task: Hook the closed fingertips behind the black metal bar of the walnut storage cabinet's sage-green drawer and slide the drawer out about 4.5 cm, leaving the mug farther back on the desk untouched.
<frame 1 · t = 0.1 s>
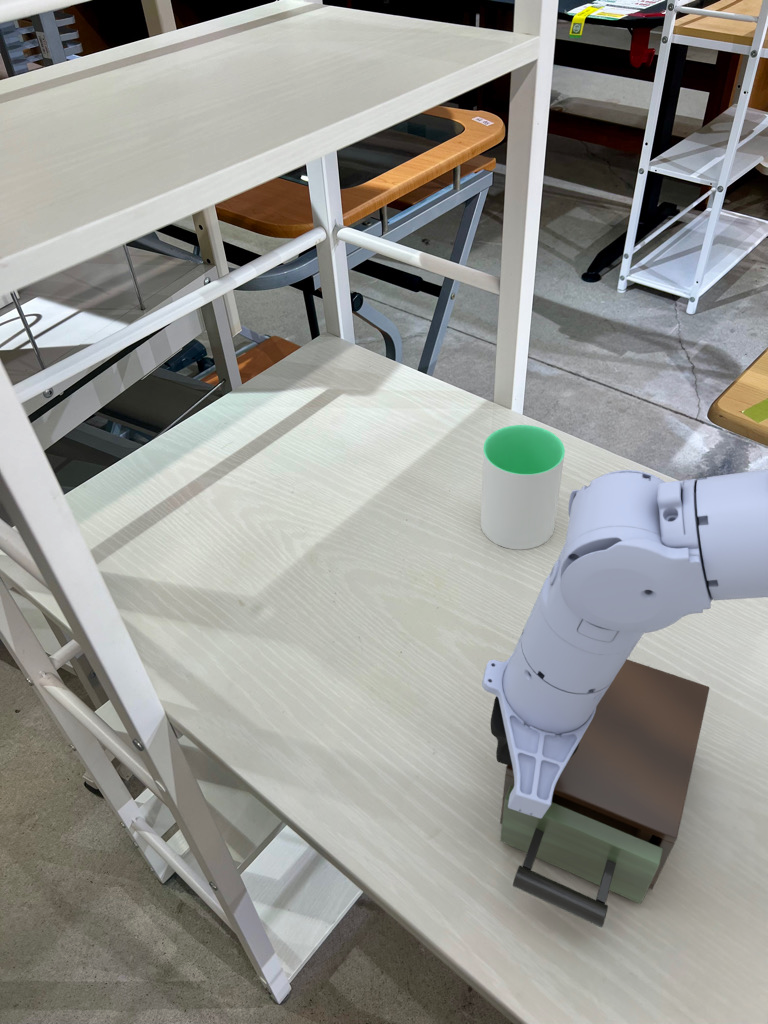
hand: (511, 757, 53), 9 cm above the table, tool pointing down, fingers closed, pressing on cabinet
drawer: (587, 806, 54), point 4 cm above the table, slide at 0.5 cm
cabinet: (595, 783, 60), on the table
mug: (517, 512, 84), on the table
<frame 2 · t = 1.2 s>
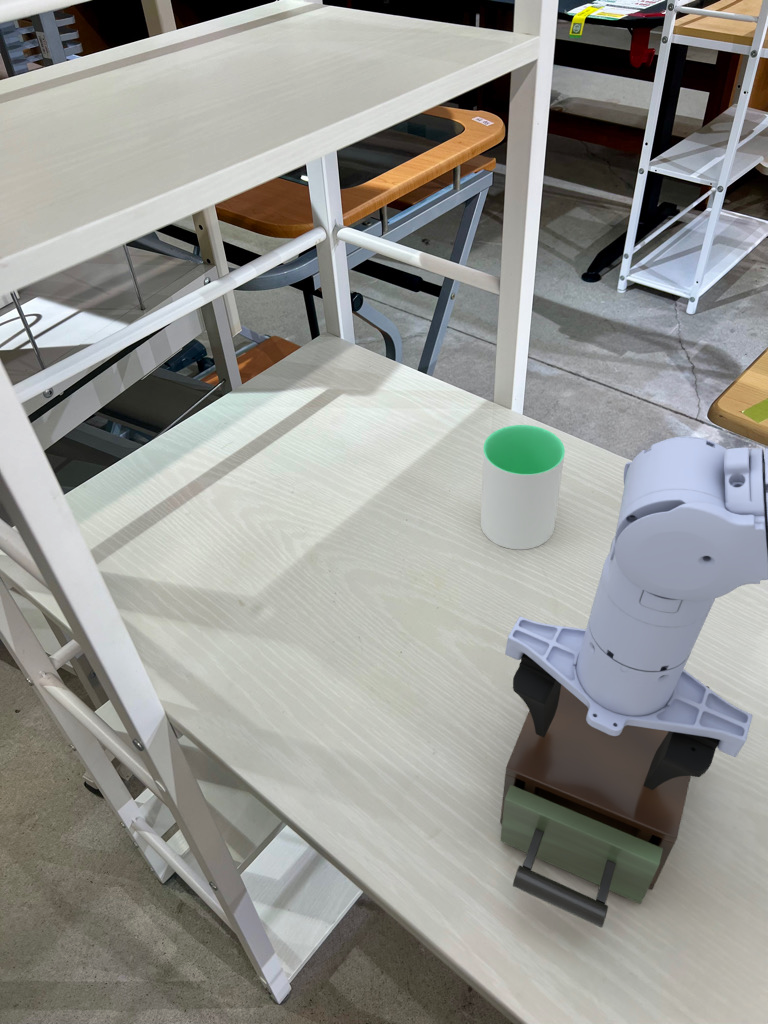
hand: (597, 749, 51), 10 cm above the table, tool pointing down, fingers open, 7 cm apart
nothing on the table moved.
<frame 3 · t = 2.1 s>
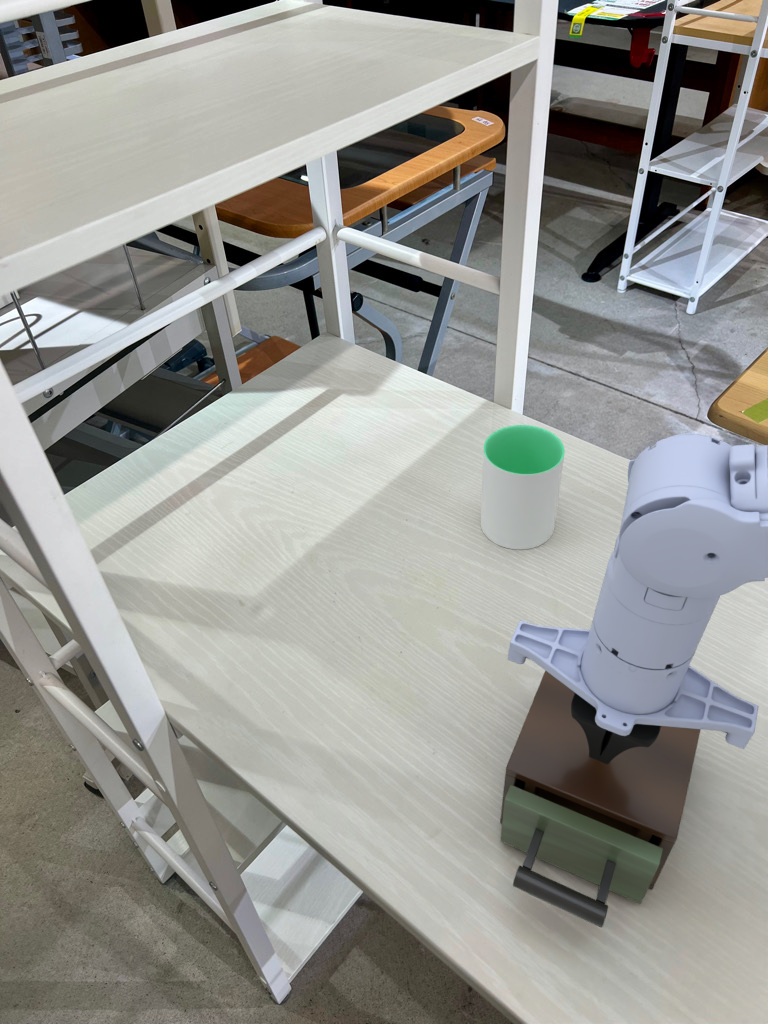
hand: (602, 748, 51), 10 cm above the table, tool pointing down, fingers closed
nothing on the table moved.
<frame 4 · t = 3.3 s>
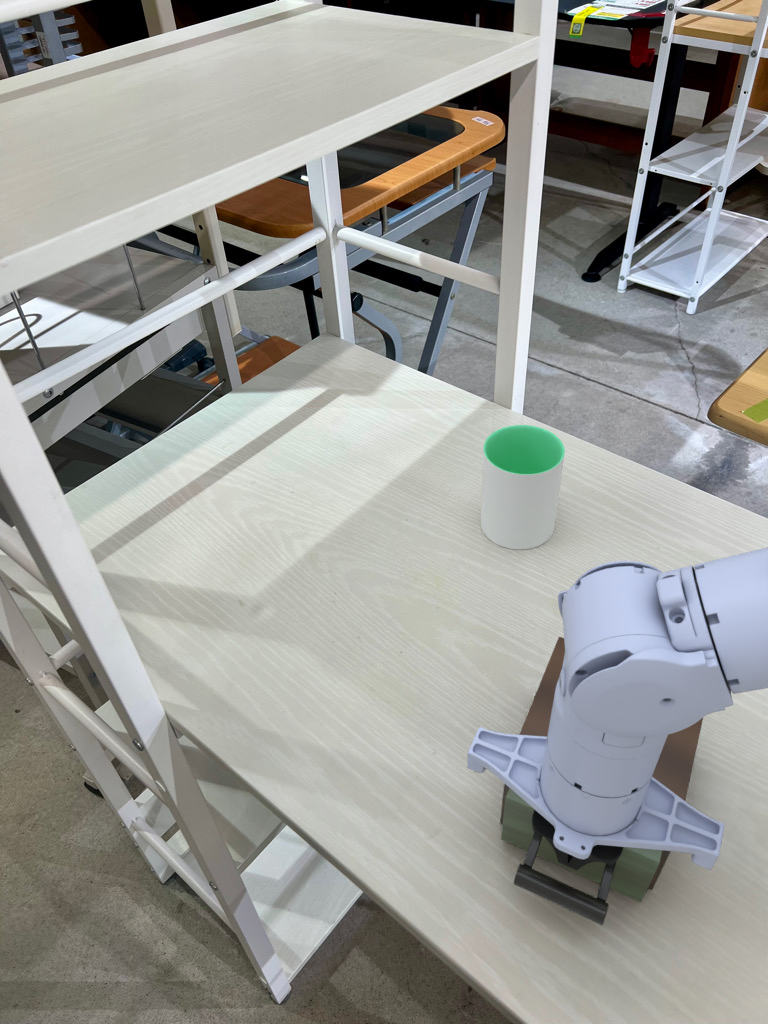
hand: (571, 852, 50), 7 cm above the table, tool pointing down, fingers closed, pressing on drawer
drawer: (588, 804, 54), point 4 cm above the table, slide at 0.4 cm, touching gripper
everything else where it was.
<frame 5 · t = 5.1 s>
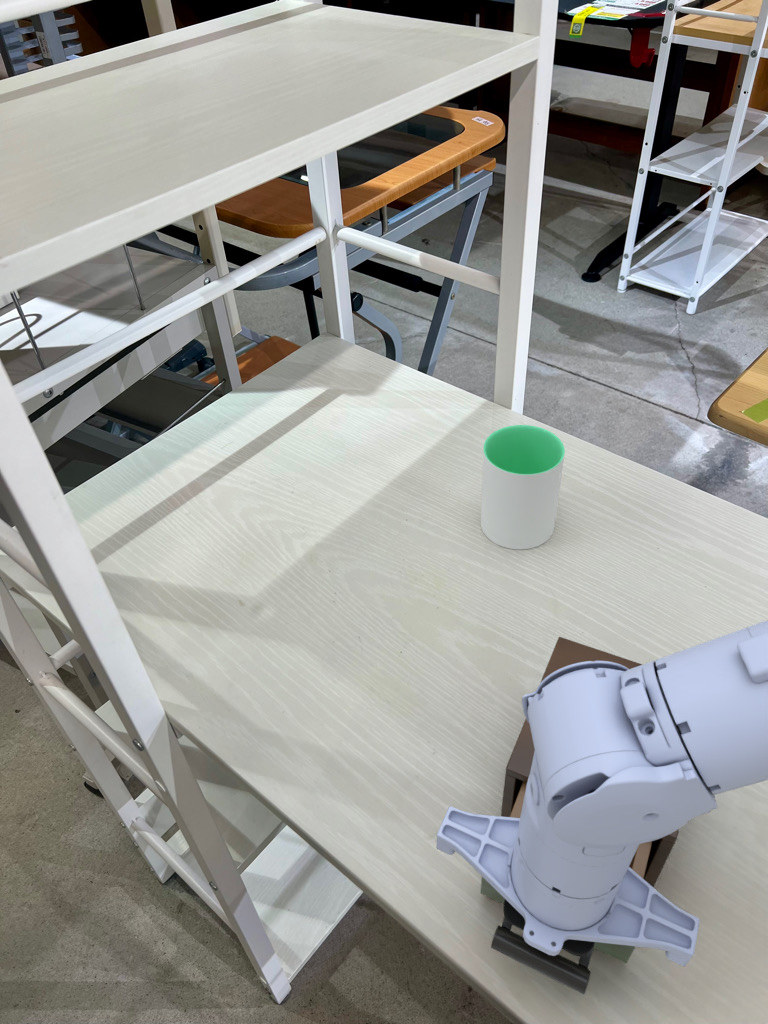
hand: (544, 931, 48), 5 cm above the table, tool pointing down, fingers closed, pressing on drawer
drawer: (571, 858, 52), point 4 cm above the table, slide at 4.6 cm, touching gripper
everything else where it was.
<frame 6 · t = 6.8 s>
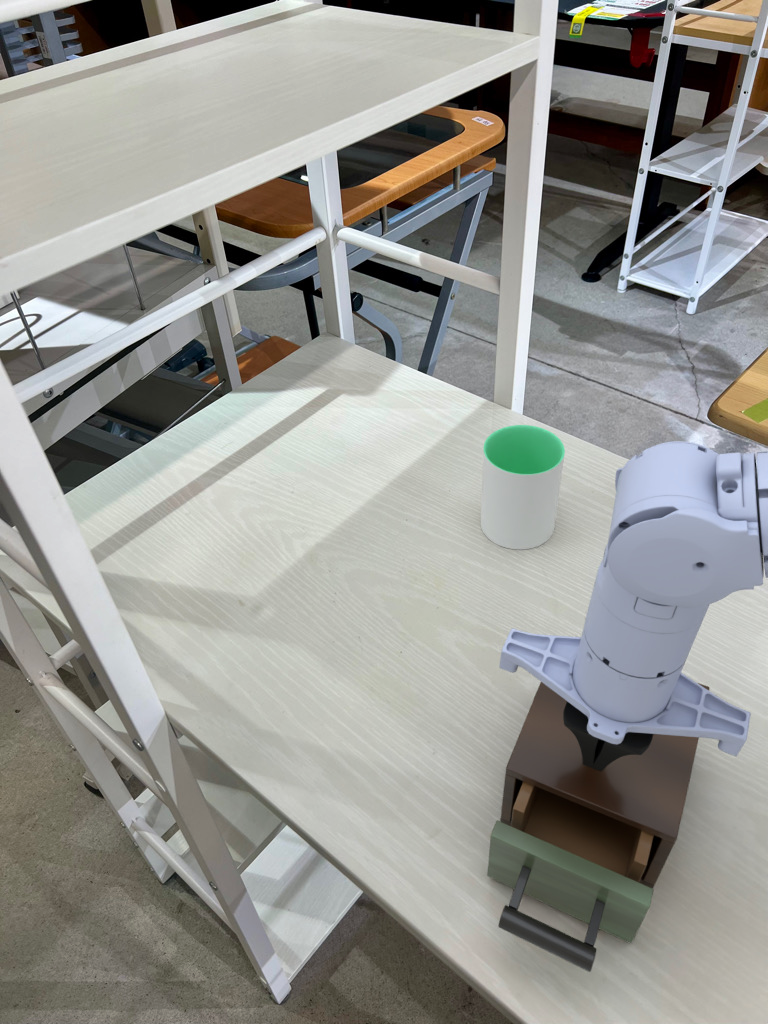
hand: (595, 755, 51), 10 cm above the table, tool pointing down, fingers closed
drawer: (576, 840, 52), point 4 cm above the table, slide at 3.3 cm
everything else where it was.
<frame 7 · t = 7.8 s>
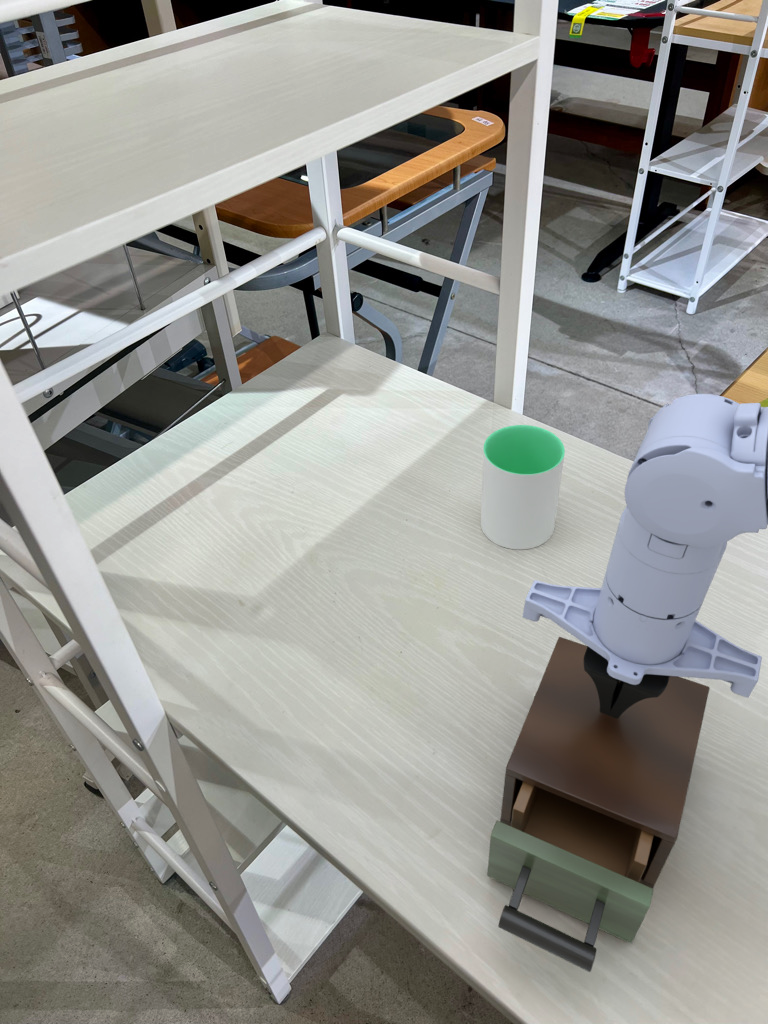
hand: (612, 704, 54), 10 cm above the table, tool pointing down, fingers closed
nothing on the table moved.
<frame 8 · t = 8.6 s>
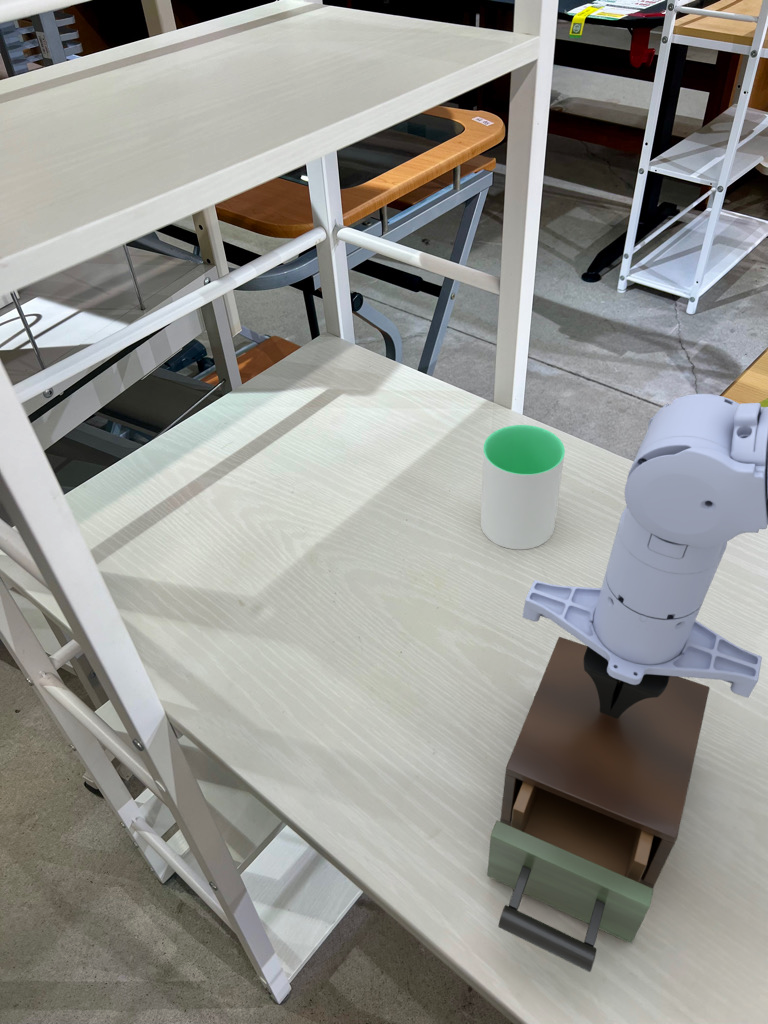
hand: (612, 704, 54), 10 cm above the table, tool pointing down, fingers closed
nothing on the table moved.
at the end: drawer slide at 3.3 cm; the gripper is holding nothing; mug moved 0.2 cm from its start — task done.
